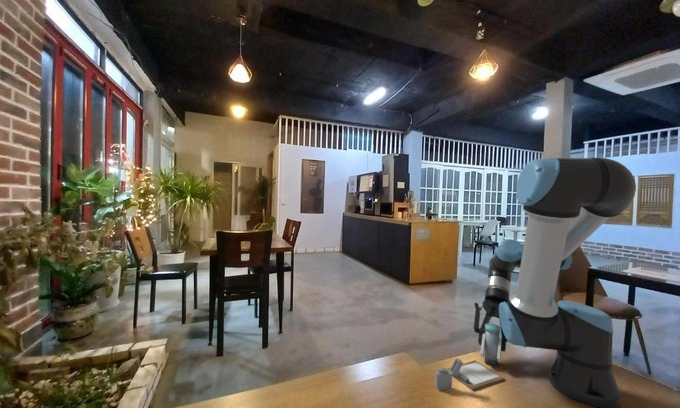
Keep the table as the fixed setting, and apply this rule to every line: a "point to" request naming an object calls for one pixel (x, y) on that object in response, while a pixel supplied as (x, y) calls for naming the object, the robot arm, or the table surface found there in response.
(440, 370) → the lighter
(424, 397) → the table surface
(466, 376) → the clipboard
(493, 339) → the grey teal cylinder
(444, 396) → the table surface
